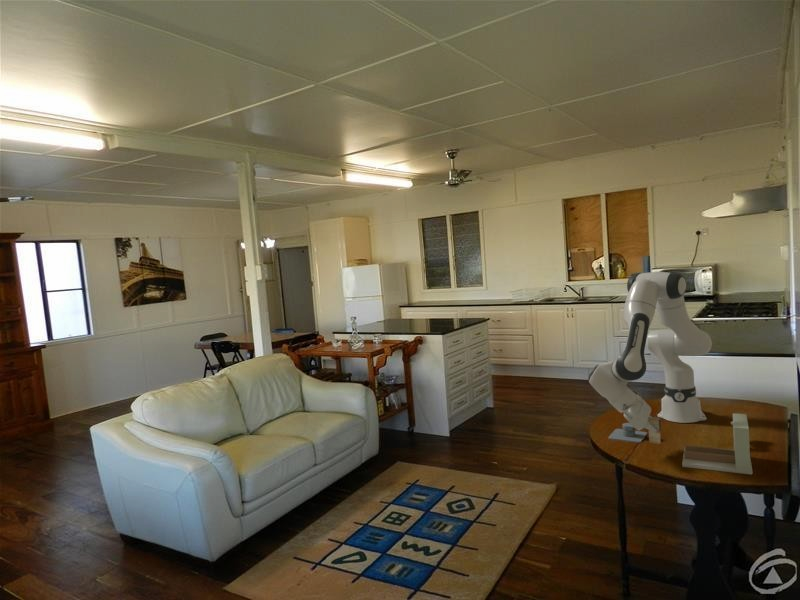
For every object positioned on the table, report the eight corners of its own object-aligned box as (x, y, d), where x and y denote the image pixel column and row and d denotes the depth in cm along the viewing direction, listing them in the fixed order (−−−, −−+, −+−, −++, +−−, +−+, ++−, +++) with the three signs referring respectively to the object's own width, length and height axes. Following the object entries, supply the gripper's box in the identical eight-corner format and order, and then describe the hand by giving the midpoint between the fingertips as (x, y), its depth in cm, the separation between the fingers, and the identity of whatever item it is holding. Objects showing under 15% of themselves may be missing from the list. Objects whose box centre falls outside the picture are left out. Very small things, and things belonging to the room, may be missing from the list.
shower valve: (646, 431, 201) (606, 426, 210) (647, 445, 202) (607, 440, 211) (654, 422, 211) (615, 418, 220) (654, 435, 211) (616, 430, 221)
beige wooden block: (650, 439, 193) (649, 417, 192) (662, 440, 191) (660, 417, 190) (649, 442, 190) (647, 420, 189) (661, 443, 188) (659, 420, 187)
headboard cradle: (684, 450, 192) (682, 410, 191) (749, 456, 182) (747, 414, 181) (682, 466, 179) (680, 423, 178) (752, 474, 168) (750, 428, 167)
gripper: (627, 404, 184) (660, 433, 179) (635, 388, 201) (665, 415, 197) (615, 415, 186) (646, 444, 182) (623, 399, 204) (652, 425, 199)
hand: (656, 429), depth 190 cm, fingers closed on beige wooden block, 3 cm apart
